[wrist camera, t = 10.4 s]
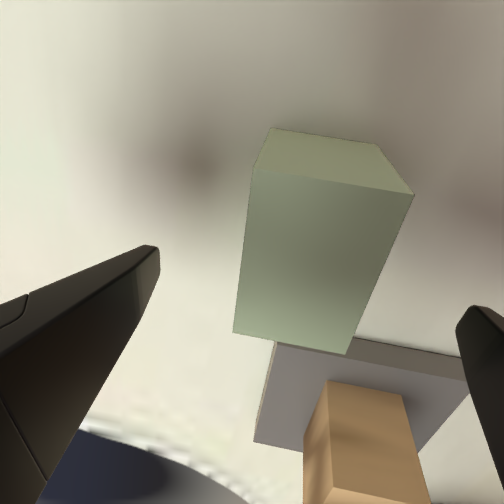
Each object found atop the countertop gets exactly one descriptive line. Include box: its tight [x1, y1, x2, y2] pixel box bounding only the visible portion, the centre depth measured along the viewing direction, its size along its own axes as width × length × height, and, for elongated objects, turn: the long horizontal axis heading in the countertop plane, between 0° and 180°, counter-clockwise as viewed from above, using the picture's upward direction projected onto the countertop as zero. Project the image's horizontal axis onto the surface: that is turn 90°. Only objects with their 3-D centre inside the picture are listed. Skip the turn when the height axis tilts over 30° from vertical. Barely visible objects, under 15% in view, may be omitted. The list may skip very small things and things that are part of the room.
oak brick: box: [303, 380, 431, 504], centre depth 16 cm, size 6×4×5 cm, turn 173°
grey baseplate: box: [253, 338, 470, 453], centre depth 19 cm, size 10×10×2 cm
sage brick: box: [232, 128, 414, 355], centre depth 11 cm, size 6×4×5 cm, turn 173°
